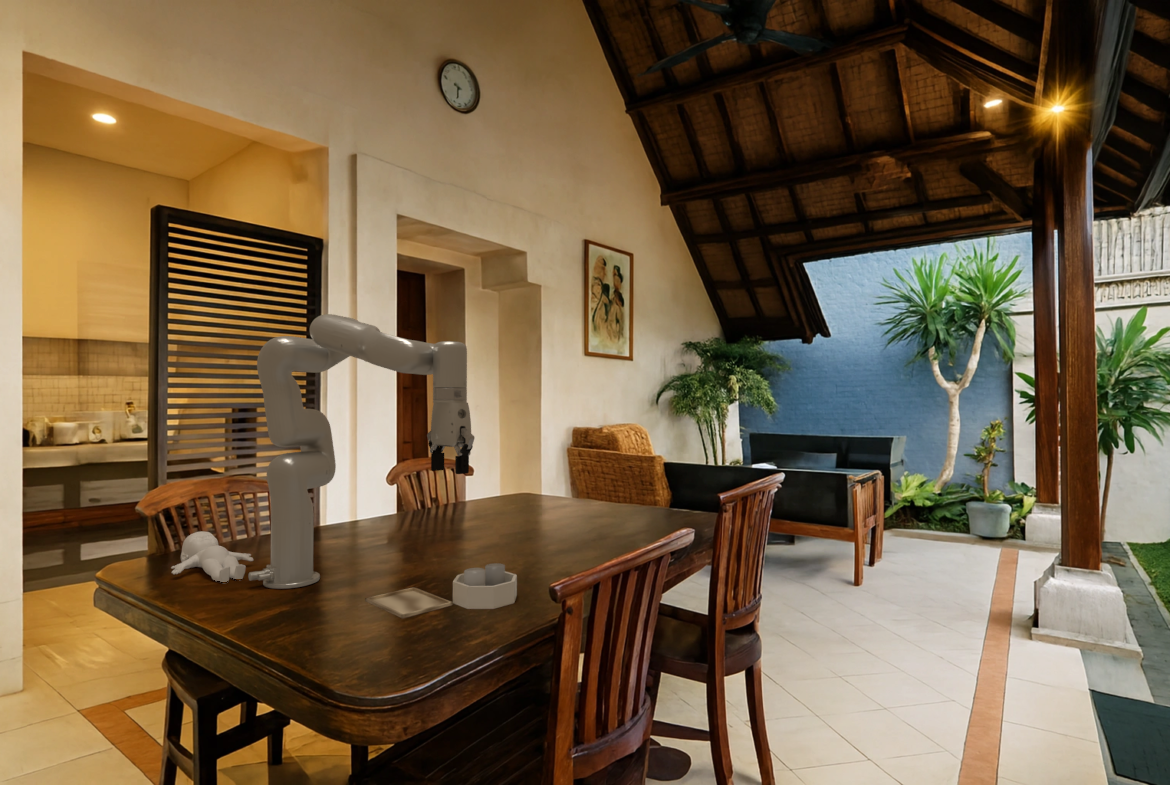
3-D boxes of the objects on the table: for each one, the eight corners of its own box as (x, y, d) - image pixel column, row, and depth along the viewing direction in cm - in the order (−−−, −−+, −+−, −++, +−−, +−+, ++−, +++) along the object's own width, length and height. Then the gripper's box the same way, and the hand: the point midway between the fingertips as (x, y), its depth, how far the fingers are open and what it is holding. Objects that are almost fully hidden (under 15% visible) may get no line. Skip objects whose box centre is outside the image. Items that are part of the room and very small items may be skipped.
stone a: (488, 598, 141) (488, 569, 141) (476, 604, 137) (476, 574, 137) (472, 595, 143) (472, 566, 143) (460, 601, 139) (460, 571, 139)
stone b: (508, 594, 144) (508, 565, 144) (493, 598, 141) (493, 569, 141) (496, 590, 147) (496, 562, 148) (481, 594, 144) (481, 565, 144)
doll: (189, 565, 150) (153, 532, 170) (187, 604, 150) (151, 565, 170) (274, 552, 164) (231, 522, 184) (272, 586, 164) (229, 553, 185)
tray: (402, 620, 129) (402, 615, 129) (365, 602, 141) (365, 598, 141) (452, 606, 138) (452, 602, 138) (413, 591, 149) (413, 587, 149)
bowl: (478, 614, 133) (478, 590, 133) (442, 600, 142) (442, 578, 142) (528, 600, 142) (528, 578, 142) (491, 588, 152) (491, 567, 152)
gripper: (486, 396, 142) (486, 473, 141) (443, 396, 154) (442, 468, 153) (457, 395, 136) (457, 476, 136) (415, 396, 148) (414, 470, 148)
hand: (449, 472), depth 145 cm, fingers open, 9 cm apart
